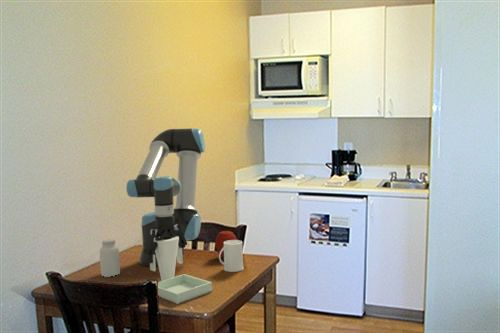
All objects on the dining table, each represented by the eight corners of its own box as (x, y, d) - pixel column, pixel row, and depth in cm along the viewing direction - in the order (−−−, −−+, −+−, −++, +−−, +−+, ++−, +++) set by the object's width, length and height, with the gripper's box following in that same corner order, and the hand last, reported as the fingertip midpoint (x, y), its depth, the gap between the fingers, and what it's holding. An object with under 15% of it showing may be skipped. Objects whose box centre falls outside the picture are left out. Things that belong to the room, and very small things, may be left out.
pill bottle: (114, 270, 224) (112, 237, 222) (123, 274, 218) (121, 240, 217) (97, 275, 218) (95, 240, 217) (106, 278, 213) (104, 243, 211)
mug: (224, 274, 213) (223, 246, 212) (213, 270, 220) (212, 243, 219) (247, 269, 220) (246, 242, 219) (236, 264, 227) (235, 238, 226)
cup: (157, 277, 212) (155, 235, 211) (182, 277, 212) (181, 234, 210) (151, 286, 202) (149, 241, 200) (178, 285, 201) (176, 241, 200)
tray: (150, 293, 193) (149, 284, 192) (184, 282, 205) (184, 273, 204) (177, 304, 181) (177, 294, 181) (212, 291, 193) (211, 282, 193)
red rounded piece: (225, 262, 232) (223, 232, 231) (211, 258, 239) (210, 229, 238) (241, 257, 239) (241, 228, 237) (228, 253, 246) (227, 225, 245)
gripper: (143, 221, 193) (146, 275, 194) (194, 211, 211) (196, 261, 212) (132, 218, 198) (135, 272, 200) (183, 209, 216) (185, 258, 218)
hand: (166, 266), depth 206 cm, fingers open, 13 cm apart
